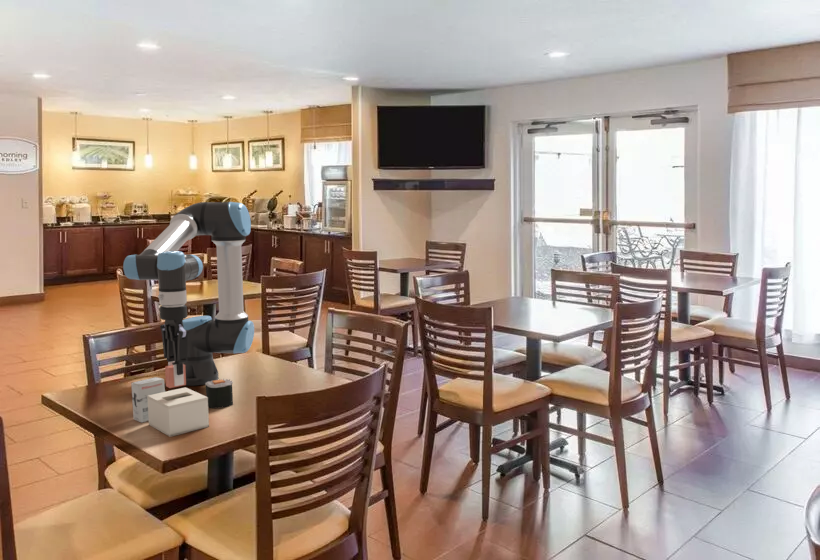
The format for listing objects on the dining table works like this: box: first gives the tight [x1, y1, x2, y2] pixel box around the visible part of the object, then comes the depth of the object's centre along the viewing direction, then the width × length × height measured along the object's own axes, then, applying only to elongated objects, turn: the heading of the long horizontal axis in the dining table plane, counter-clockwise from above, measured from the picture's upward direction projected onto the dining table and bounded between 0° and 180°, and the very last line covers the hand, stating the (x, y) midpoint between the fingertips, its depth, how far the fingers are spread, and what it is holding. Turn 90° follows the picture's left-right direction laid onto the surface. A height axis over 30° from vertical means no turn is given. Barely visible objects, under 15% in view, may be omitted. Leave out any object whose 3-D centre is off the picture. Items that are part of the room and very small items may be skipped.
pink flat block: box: [164, 364, 187, 389], centre depth 202 cm, size 2×5×6 cm, turn 134°
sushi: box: [204, 378, 234, 409], centre depth 225 cm, size 8×8×8 cm
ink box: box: [131, 376, 166, 424], centre depth 211 cm, size 8×5×12 cm, turn 140°
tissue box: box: [147, 387, 210, 438], centre depth 204 cm, size 14×12×9 cm
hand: (176, 383), depth 203 cm, fingers closed on pink flat block, 2 cm apart
